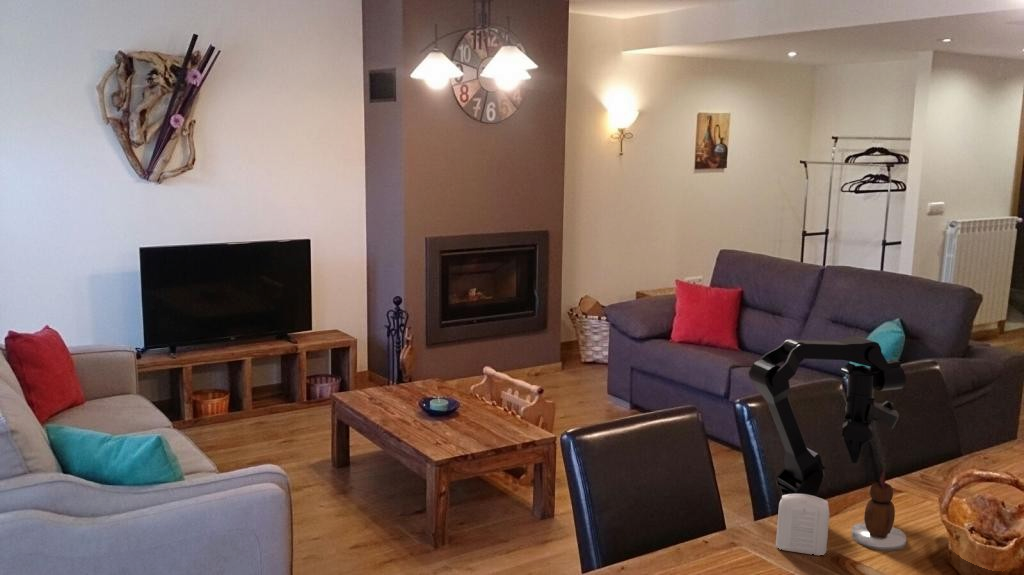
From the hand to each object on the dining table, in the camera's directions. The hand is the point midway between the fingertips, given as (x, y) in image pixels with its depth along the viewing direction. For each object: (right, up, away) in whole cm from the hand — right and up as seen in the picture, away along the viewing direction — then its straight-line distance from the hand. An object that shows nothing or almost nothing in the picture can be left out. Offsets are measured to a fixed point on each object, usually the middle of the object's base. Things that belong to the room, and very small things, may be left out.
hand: (855, 456), depth 210 cm
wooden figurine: (0, -14, -14) cm, 20 cm away
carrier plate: (0, -16, -14) cm, 21 cm away
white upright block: (-19, -17, -19) cm, 31 cm away
